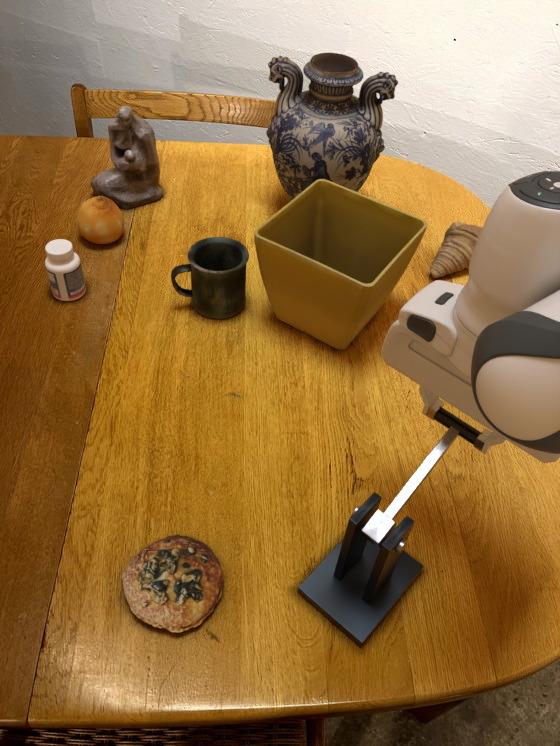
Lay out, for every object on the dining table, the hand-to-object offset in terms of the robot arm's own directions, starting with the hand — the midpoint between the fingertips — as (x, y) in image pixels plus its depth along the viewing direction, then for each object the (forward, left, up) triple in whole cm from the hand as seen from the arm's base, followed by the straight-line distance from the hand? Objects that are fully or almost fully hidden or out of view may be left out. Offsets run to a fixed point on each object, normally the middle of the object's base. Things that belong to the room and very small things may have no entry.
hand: (455, 429), depth 70 cm
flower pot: (+31, -20, -17) cm, 40 cm away
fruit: (+72, -7, -17) cm, 74 cm away
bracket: (0, +13, -16) cm, 21 cm away
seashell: (+23, -47, -17) cm, 55 cm away
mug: (+46, -8, -17) cm, 50 cm away
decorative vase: (+51, -41, -17) cm, 67 cm away
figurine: (+79, -19, -17) cm, 83 cm away
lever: (0, +6, -3) cm, 7 cm away
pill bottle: (+64, +6, -17) cm, 66 cm away
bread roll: (+15, +28, -17) cm, 36 cm away
